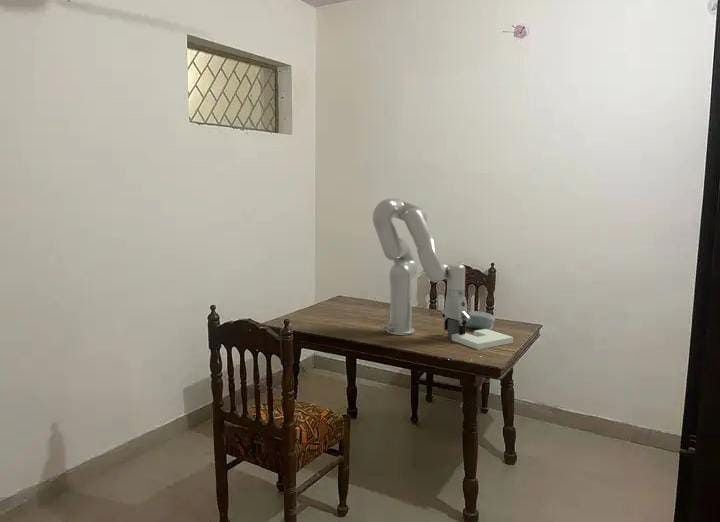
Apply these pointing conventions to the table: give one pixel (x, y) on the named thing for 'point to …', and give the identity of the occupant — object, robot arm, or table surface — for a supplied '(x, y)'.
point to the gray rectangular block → (453, 327)
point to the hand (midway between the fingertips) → (454, 331)
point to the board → (482, 339)
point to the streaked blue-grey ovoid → (480, 320)
